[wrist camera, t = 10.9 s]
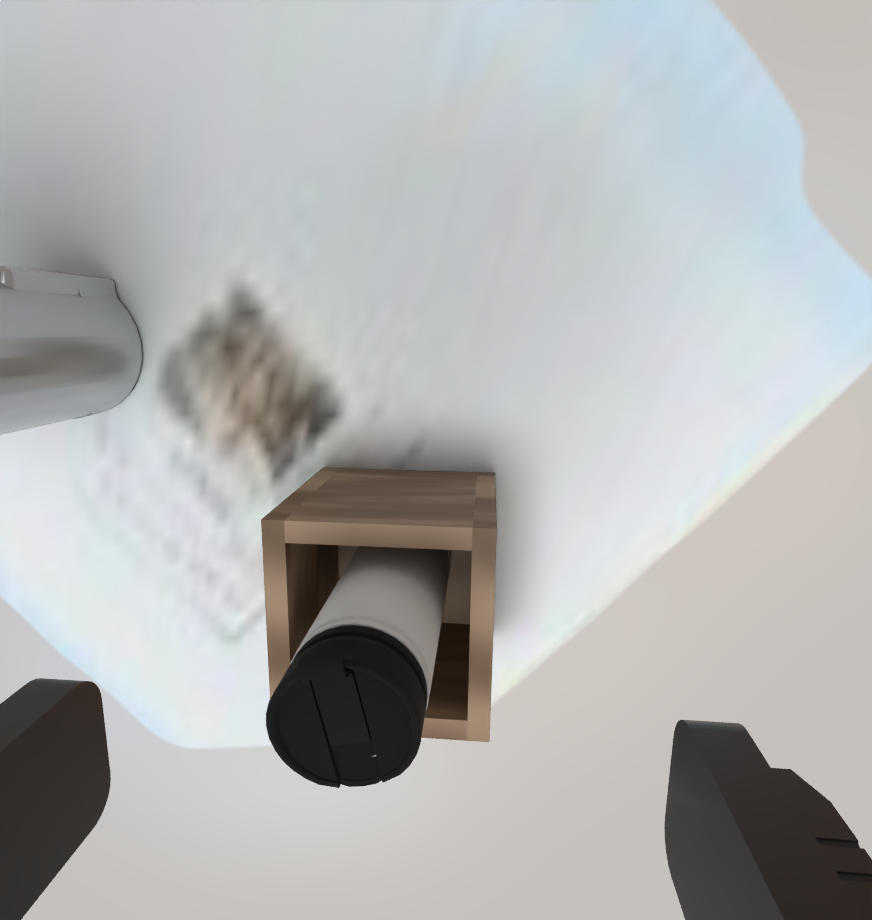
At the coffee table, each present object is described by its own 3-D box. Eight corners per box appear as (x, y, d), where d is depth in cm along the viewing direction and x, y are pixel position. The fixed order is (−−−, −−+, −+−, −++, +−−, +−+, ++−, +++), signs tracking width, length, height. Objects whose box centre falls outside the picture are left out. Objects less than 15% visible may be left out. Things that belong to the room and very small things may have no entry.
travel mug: (441, 498, 42) (399, 645, 23) (459, 588, 43) (435, 800, 24) (352, 514, 43) (238, 668, 23) (373, 602, 44) (282, 818, 25)
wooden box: (323, 467, 43) (261, 519, 32) (495, 473, 42) (496, 528, 31) (327, 625, 46) (271, 727, 34) (489, 634, 45) (489, 741, 33)
